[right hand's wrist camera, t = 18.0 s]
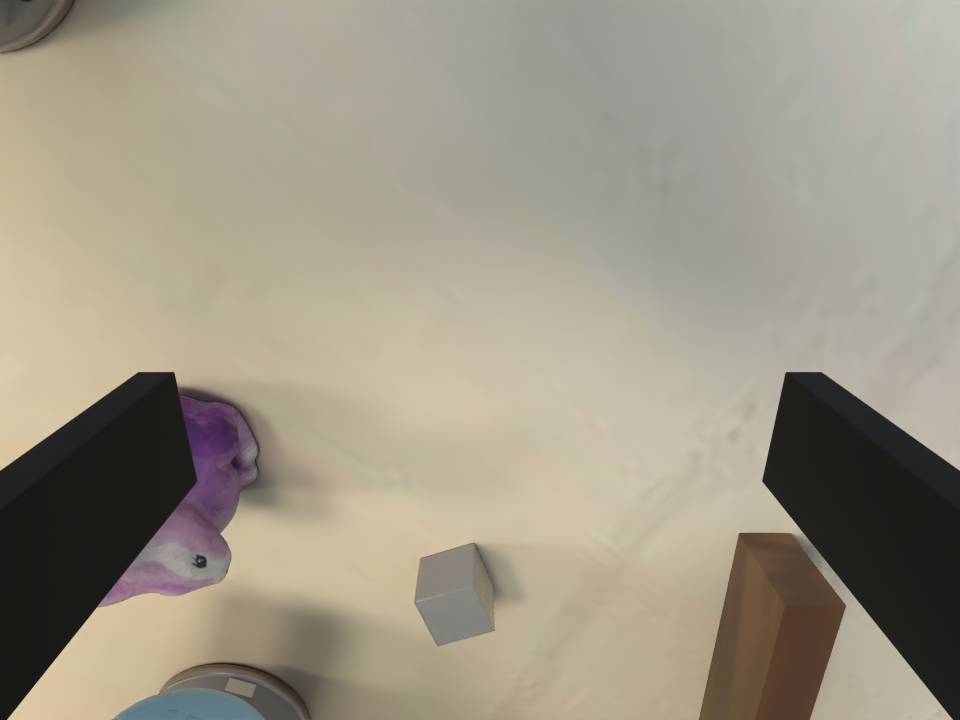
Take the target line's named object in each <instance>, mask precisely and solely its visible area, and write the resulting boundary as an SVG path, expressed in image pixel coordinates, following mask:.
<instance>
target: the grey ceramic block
mask: <svg viewBox="0 0 960 720" xmlns="http://www.w3.org/2000/svg"><path fill="white" fill-rule="evenodd" d="M414 603H415V605H416V607H417V609H418V610H419V612H420V614H421V616H422V618H423V620H424V622H425V624H426V626H427V628H428V629H429V631H430V633H431V635H432V637H433V639H434V641H435V643H436V645H437V646H440V645H444V644H448V643H451V642H455V641H459V640H462V639H466V638H470V637H473V636H477V635H481V634H484V633H488V632H492V631H495V625H494V591H493V583H492V581H491V579H490V577H489V575H488V572H487V570H486V568H485V566H484V564H483V562H482V559H481V557H480V555H479V553H478V551H477V548H476V546H475V544H474V543H472V544H468V545H465V546H462V547H458V548H455V549H451V550H448V551H445V552H441V553H438V554H435V555H431V556H428V557H424V558H421V559H420V564H419V572H418V579H417V586H416V593H415V600H414Z"/></svg>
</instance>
